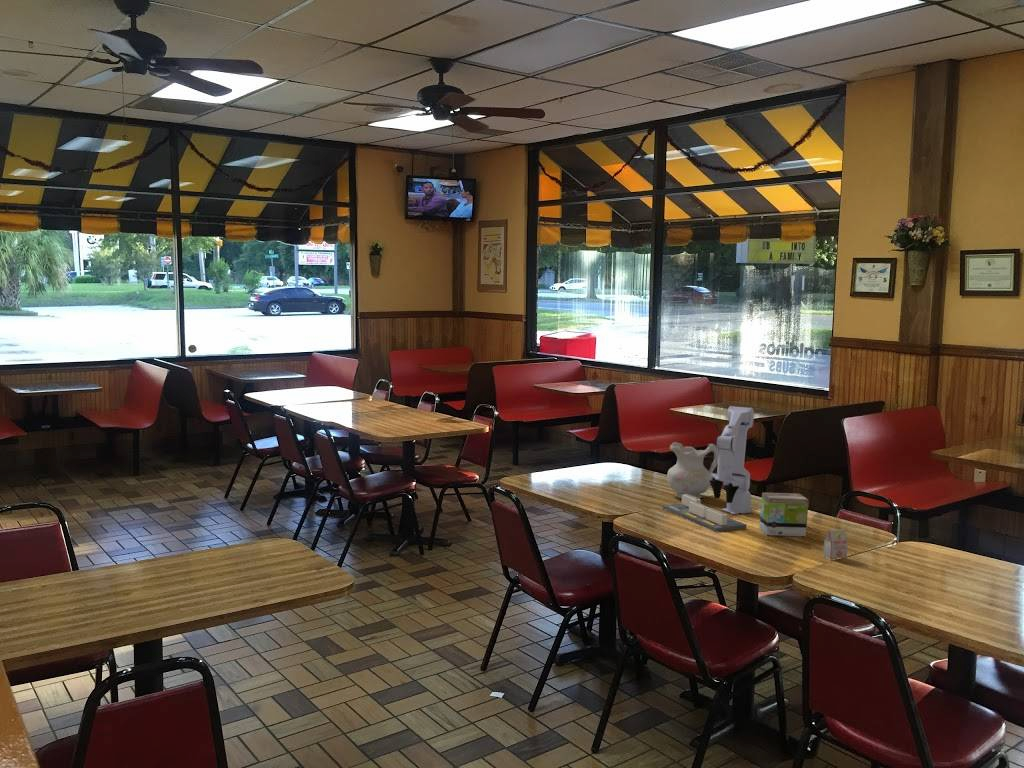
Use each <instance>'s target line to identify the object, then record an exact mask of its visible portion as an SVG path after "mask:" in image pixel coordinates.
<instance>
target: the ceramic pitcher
mask: <svg viewBox="0 0 1024 768" xmlns="http://www.w3.org/2000/svg"><path fill="white" fill-rule="evenodd" d="M669 450H670V451H672V452H673V453H674V454H675V456H676V458H677V459H676V464H674V465H673V466H672V467H670V468H669V469H668V471H667V475H666V479H667V484H668V485H669V487H670V489H671V490H672V491H673V492H675V494H676V495H675V497H676V498H678V499H680V498H681V500H682V495H685V494H689V495H691V496H694V497H696V498H698V499H700V498H701V497H702V496H701V494H703V493H706V492H707V491H708V489H709V488H710V486H711V484H710V480H712V479H711V474H712V473H714V470H715V469H716V468H717V465H718V454H717V444H715V443H708V444H707V448H705V449H704V450H703V449H698V450H697V449H696V448H694V447H693V446H684V445H683V444H682V443H679V442H677V441H675V442H672V443H671V444H670V445H669ZM709 453H713V461H712V462H711V464H710V468H709V469H707V468H706V467H705V465H704V458H705V456H706V455H708V454H709ZM700 500H701V499H700Z"/></svg>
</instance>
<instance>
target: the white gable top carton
mask: <svg viewBox="0 0 1024 768" xmlns="http://www.w3.org/2000/svg"><path fill="white" fill-rule="evenodd" d="M846 533H847V532H846V529H843V528H842V529H830V530H827V534H826V536H825V538H824V541H823V553H822V555H823V556H824V557H827V558H829V559H837V558H844V557H847V555H848V544H849V543H848V542H849V541H848V538H847V534H846ZM823 556H822V557H823ZM824 557H823V558H824ZM847 558H848V557H847Z"/></svg>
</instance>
